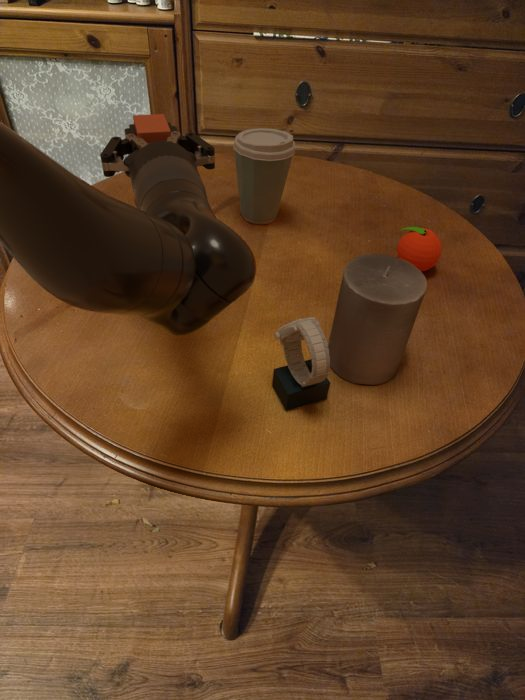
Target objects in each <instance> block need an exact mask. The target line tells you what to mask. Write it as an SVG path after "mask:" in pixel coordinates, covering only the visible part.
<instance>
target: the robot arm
mask: <svg viewBox="0 0 525 700" xmlns="http://www.w3.org/2000/svg"><path fill="white" fill-rule="evenodd" d="M167 123H168V126H169V128H170V131H171V136H168V138H167V141H156V142H152V143H149V144H148V143H147V142H146V141H145V140H144V139H143V138H142V137H139V138H138V137H137V133H136V129H135V126H134V123H132V124H131V123H130V124H128V127H125V128H124V129H123V132H124V136H125V137H124V138H123V139H122V137H121V136H117V135H115V136H113V137H111V138H110V139H109V141H108V142H107V143H106V145H105V147H104V148H103V150H102V151H101V152H100V155H99V156H100V161H101V169H102V172H103V176H104V177H105V178H111V177H114V176H115V174H116V173H120V172H123V173H124V174H125V176H127V177H128V178H130V181H131V182H130V183H131V186H132V191H133V197H134V200H133V201H134V204H135V206H133V205H131V204H129V203H126V202H124V201H122V200H119V199H118V198H115V197H114V196H111V195H110V194H108V193H106V192H103V191H101V190H100V189H99V188H96V187H94V186H93V185H92V184H90V183H88V182H87V181H86V180H84V179H82V178H81V177H79V176H78V175H77V174H75V173H73V172H72V171H70V170H69V169H68V168H67V167H65V166H64V165H62V164H61V163H60V162H58V161H57V160H55V159H54V158H53V157H51V156H49V154H47V153H46V152H44V151H43V150H41V149H40V148H38V147H37V146H35V145H34V144H33V143H31V142H30V141H29V140H27V139H26V138H24V137H23V136H22V135H20V134H18V133H17V132H16V131H14V130H13V129H12V128H10V126H9V127H8V126H7V125H6V124H5V123H3V122H1V121H0V244H1V245H2V246H3V247H4V249H5V250H6V251H7V252H8V253H9V255H11V257H13V259H14V260H15V261H16V262H17V264H19V266H20V267H21V268H22V269H23V270H24V271H25V272H26V273H27V274H28V276H29V277H30V278H31V279H32V280H33V281H34V282H36V284H38V285H39V286H40V287H41V288H42V289H44V290H45V291H46V292H48V293H49V294H50V295H51V296H54V298H56V299H57V300H59V301H61V302H63V303H65V304H68V305H69V306H72V307H74V308H76V309H80V310H82V311H89V312H93V313H97V314H110V315H124V316H138V317H139V318H141V319H143V320H144V321H146V322H148V323H150V324H152V325H154V326H155V327H157V328H158V329H159V330H161V331H163V333H166V334H168V335H170V336H174V337H183V336H187V335H191V334H193V333H195V332H197V331H199V330H200V329H201V328H203V327H204V326H206V325H207V324H209V322H210V321H211V320H213V319H214V318H216V316H218V315H219V314H220V313H222V312H223V311H224V310H225V309H226V308H227V307H229V306H230V305H232V303H234V302H235V301H236V300H238V299H239V298H240V297H242V295H244V294H245V293H246V292H247V291H249V289H250V288H251V287H252V286H253V284H254V281H255V279H256V273H257V261H256V258H255V255H254V252H253V251H252V249H251V247H250V246H249V244H248V243H247V242H246V241H245V240H244V238H242V237H241V235H239V234H238V233H237V232H236V231H235V230H234V229H232V228H231V226H229V225H228V224H226V223H224V222H223V221H222V220H220V219H218V218H217V217H216V215H215V214H214V212H213V209H212V207H211V204H210V202H209V200H208V194H207V190H206V187H205V184H204V182H203V179H202V177H201V175H200V172H199V170H198V167H203V168H205V169H206V170H209V171H211V170H214V169H215V168H216V158H215V157H216V156H215V153H216V152H215V146H213V145H211V144H210V143H209V142H207V141H206V140H205V139H204V138H202V137H200V136H199V135H197V134H196V133H194V132H186V133H185V135H181V132H180V131H179V130H178V127H177V126H176V125H172V124H171V122H169V121H167ZM125 156H126V157H125Z"/></svg>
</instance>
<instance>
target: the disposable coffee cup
mask: <svg viewBox="0 0 525 700" xmlns="http://www.w3.org/2000/svg"><path fill="white" fill-rule="evenodd" d="M234 137H235V138H234V140H233V145H232V148H233V151H234V161H235V169H236V180H237V188H238V189H237V191H238V197H239V198H238V199H239V207H240V214H241V216H242V219H244V220H245V221H247V222H248V223H251V224H254V225H265V224H266V225H267V224H270V223H272V222H274V221H275V220H276V218H277V217H278V214H279V209H280V205H281V201H282V198H283V194H284V190H285V186H286V182H287V178H288V175H289V171H290V167H291V163H292V159H293V157H294V155H296V142H295V140H294V135H292V134H291V133H289V132H287V131H285V130H281V129H276V128H266V127H265V128H264V127H257V128H247V129H245V130H243V131H240V132H238V134H237V135H235V136H234Z"/></svg>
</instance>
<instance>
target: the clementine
mask: <svg viewBox="0 0 525 700" xmlns="http://www.w3.org/2000/svg"><path fill="white" fill-rule="evenodd" d="M406 230H408V232H406V233H405V234H404V235H403V236H401V238H400V240H399V242H398V244H397V248H396V255H397V258H400V259H403V260H405V261H408V262H409V263H411V264H413V265H414V266H415V267H416V268H418V269H419V270H420V271H421V272H425V271H428V270H431V268H433V267H434V266H435V265H436V264H437V263H438V262H439V259H440V258H441V256H442V252H443V251H442V249H443V248H442V241H441V240H440V237H439V236H438V235H437V234H436V233H435V232H434V231H432V230H431V229H429V228H426V227H425V228H424V227H420V226H419V227H418V226H408V227H403V228H401V229H399V230H398V232H397V233H396V234H398V233H399V232H401V231H406Z"/></svg>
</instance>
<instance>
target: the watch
mask: <svg viewBox="0 0 525 700" xmlns="http://www.w3.org/2000/svg"><path fill="white" fill-rule="evenodd" d="M274 338H275V340H279V343H280V346H281V347H282V350H283V355H284V358H285V362H286V365H283V366H280V367H276V368H273V372H272V381H271V382H272V384H271V387H272V389H273V390H274V392H275V394H276V396H277V398H278V400H279V401H280V403H281V406H282V407H283V408H284V411H285V412H289V411H292V410H293V411H294V410H295V409H300V408H303V407H306V406H310V405H312V404H316V403H319V402H324V401H327V400H328V396H329V391H330V386H331V381H330V380H329V378H328V376H329V374H330V368H331V367H330V356H329V349H328V344H329V343H328V341H327V338H326V336H325V332H324V330H323V328H322V327H321V325H320V321H319V320H318V319H317V317H315V316H307V317H302V318H299V319H298V318H297V319H295V320H292V321H290V322H288V323H286V324H284V325H282V326H280V327H279V328H278V329H276V332H275V333H274ZM302 341H305V344H306V346H307V349H308V351H309V355H310V359H306V360H305V358H304V353H303V347H302V346H303V345H302ZM299 407H300V408H299Z"/></svg>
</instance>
